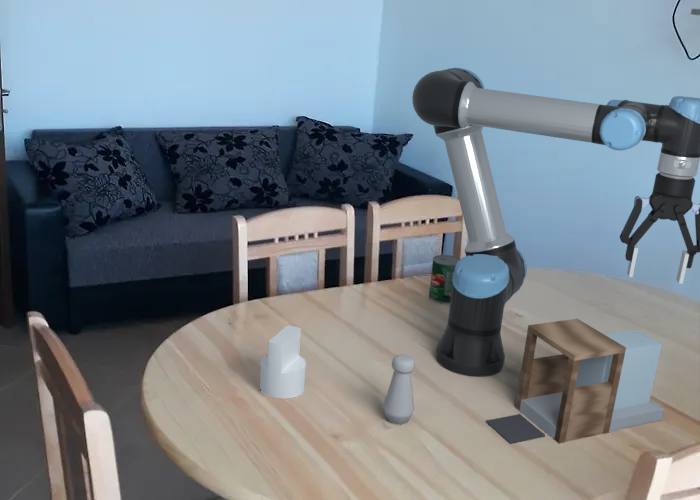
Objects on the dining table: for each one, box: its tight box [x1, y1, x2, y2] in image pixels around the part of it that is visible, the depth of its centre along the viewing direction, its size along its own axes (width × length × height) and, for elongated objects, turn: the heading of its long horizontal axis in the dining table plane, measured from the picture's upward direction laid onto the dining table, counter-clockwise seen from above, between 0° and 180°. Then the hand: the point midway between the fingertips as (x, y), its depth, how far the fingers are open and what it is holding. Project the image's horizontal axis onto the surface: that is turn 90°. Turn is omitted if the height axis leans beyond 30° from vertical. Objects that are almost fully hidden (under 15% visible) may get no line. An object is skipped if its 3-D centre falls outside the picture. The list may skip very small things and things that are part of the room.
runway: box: [519, 392, 665, 440], centre depth 155 cm, size 26×13×2 cm, turn 115°
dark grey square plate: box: [485, 413, 546, 445], centre depth 147 cm, size 8×8×1 cm
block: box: [575, 328, 663, 409], centre depth 154 cm, size 14×7×13 cm, turn 115°
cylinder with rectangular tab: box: [259, 325, 307, 399], centre depth 154 cm, size 9×9×12 cm
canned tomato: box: [428, 254, 461, 305], centre depth 207 cm, size 8×8×11 cm
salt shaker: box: [382, 353, 416, 426], centre depth 146 cm, size 6×6×13 cm
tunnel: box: [514, 318, 626, 444], centre depth 149 cm, size 12×14×18 cm
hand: (654, 278), depth 164 cm, fingers open, 9 cm apart
